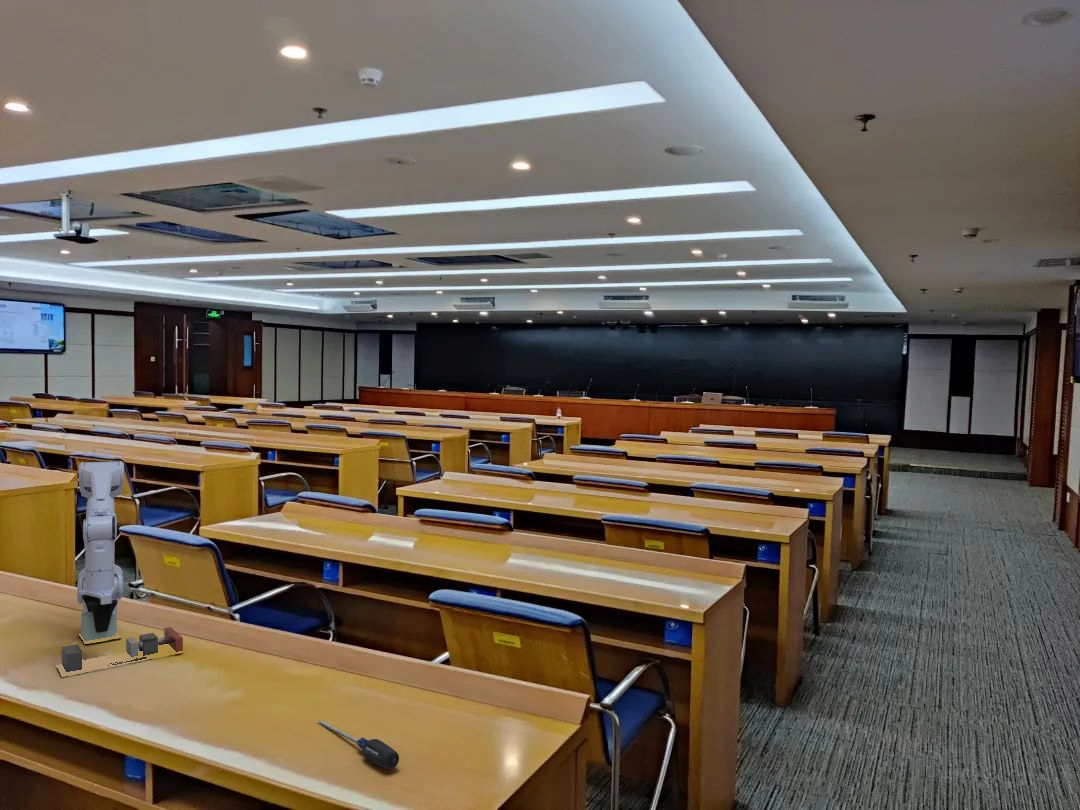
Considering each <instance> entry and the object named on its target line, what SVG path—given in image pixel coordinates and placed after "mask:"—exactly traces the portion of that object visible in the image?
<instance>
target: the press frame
mask: <svg viewBox="0 0 1080 810" xmlns="http://www.w3.org/2000/svg"><path fill="white" fill-rule="evenodd" d="M158 638H159V637H158V636H157V635H156V634H155V633H154V632H149V633H145V634H140V635H139V639H138V640H139V641H138V642H142V641H143V648H142V649H139V651H143V656H145V655H150V654H154V653H158ZM146 658H147V657H142V658H139V659H138V658H136V659H134V660H131V661H126V662H132V661H138V660H142V659H146ZM82 659H83V651H82V649H81V648H80V646H79V644H78V643H77V644H71V645H66V646H61V663H62V665H63V667H64V669H65V671H66V672H70V671H76V670H81V669H82ZM126 662H124V663H126ZM115 663H117V664H122V663H123V661H122V662H119V663H118V662H115ZM110 664H112V663H110ZM117 664H114V663H113V664H112V665H117ZM108 666H109V665H108Z"/></svg>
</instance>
